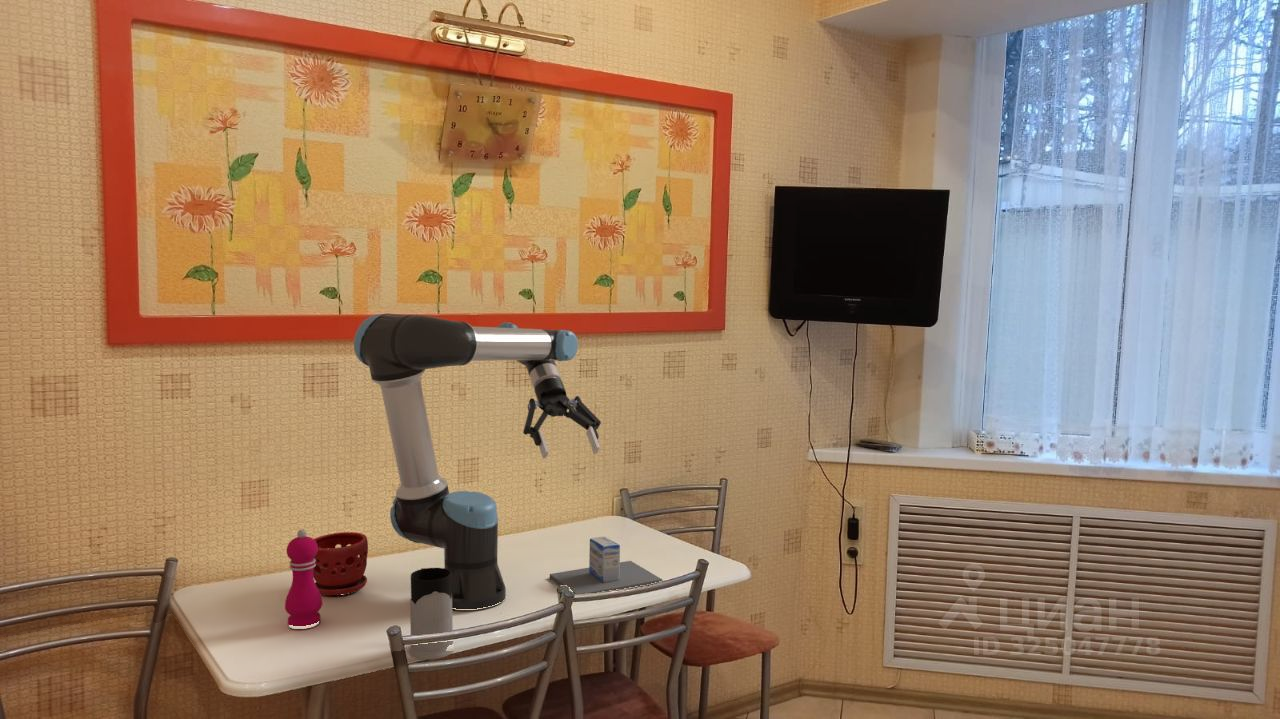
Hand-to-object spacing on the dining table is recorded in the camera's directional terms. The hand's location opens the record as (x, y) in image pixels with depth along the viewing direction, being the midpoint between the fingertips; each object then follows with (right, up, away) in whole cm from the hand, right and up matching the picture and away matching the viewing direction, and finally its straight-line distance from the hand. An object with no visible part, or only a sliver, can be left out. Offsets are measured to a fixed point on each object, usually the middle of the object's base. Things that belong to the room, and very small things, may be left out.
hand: (571, 453), depth 214 cm
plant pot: (-53, -30, -12) cm, 62 cm away
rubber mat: (+8, -30, -5) cm, 31 cm away
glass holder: (-25, -33, -42) cm, 59 cm away
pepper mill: (-53, -32, -33) cm, 70 cm away
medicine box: (+8, -29, -5) cm, 31 cm away
